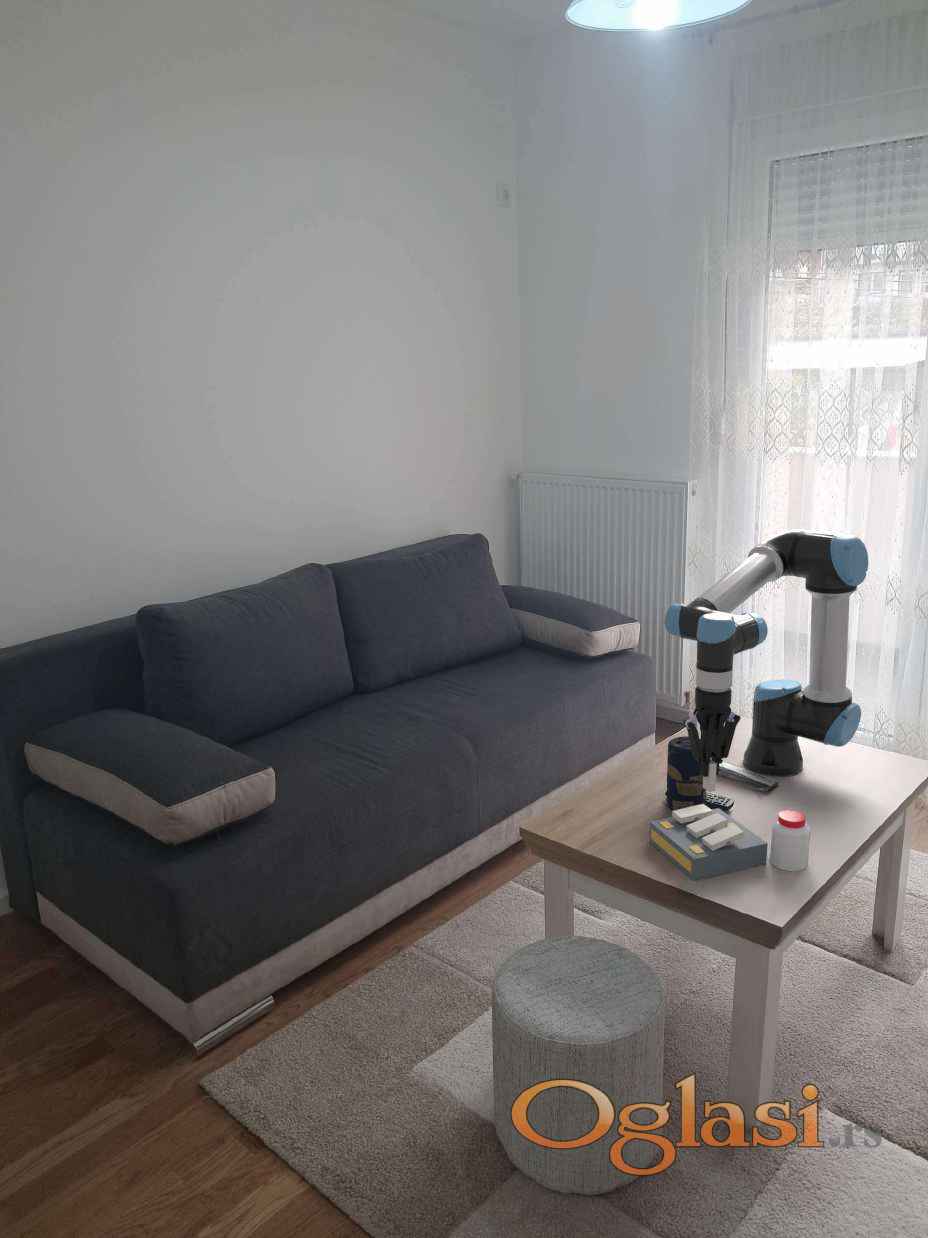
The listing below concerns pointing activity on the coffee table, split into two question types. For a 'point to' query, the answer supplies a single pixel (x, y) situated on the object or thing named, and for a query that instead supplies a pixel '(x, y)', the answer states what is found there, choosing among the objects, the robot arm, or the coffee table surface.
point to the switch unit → (706, 848)
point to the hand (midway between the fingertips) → (708, 789)
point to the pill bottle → (790, 841)
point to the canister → (683, 776)
